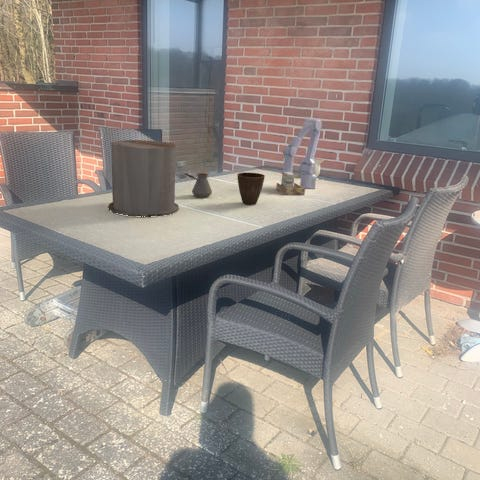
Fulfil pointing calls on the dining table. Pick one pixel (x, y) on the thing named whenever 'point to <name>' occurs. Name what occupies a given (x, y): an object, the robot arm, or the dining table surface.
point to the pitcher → (317, 166)
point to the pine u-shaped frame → (291, 190)
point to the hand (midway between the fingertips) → (286, 187)
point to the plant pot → (250, 187)
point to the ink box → (287, 179)
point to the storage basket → (143, 178)
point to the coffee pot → (201, 186)
